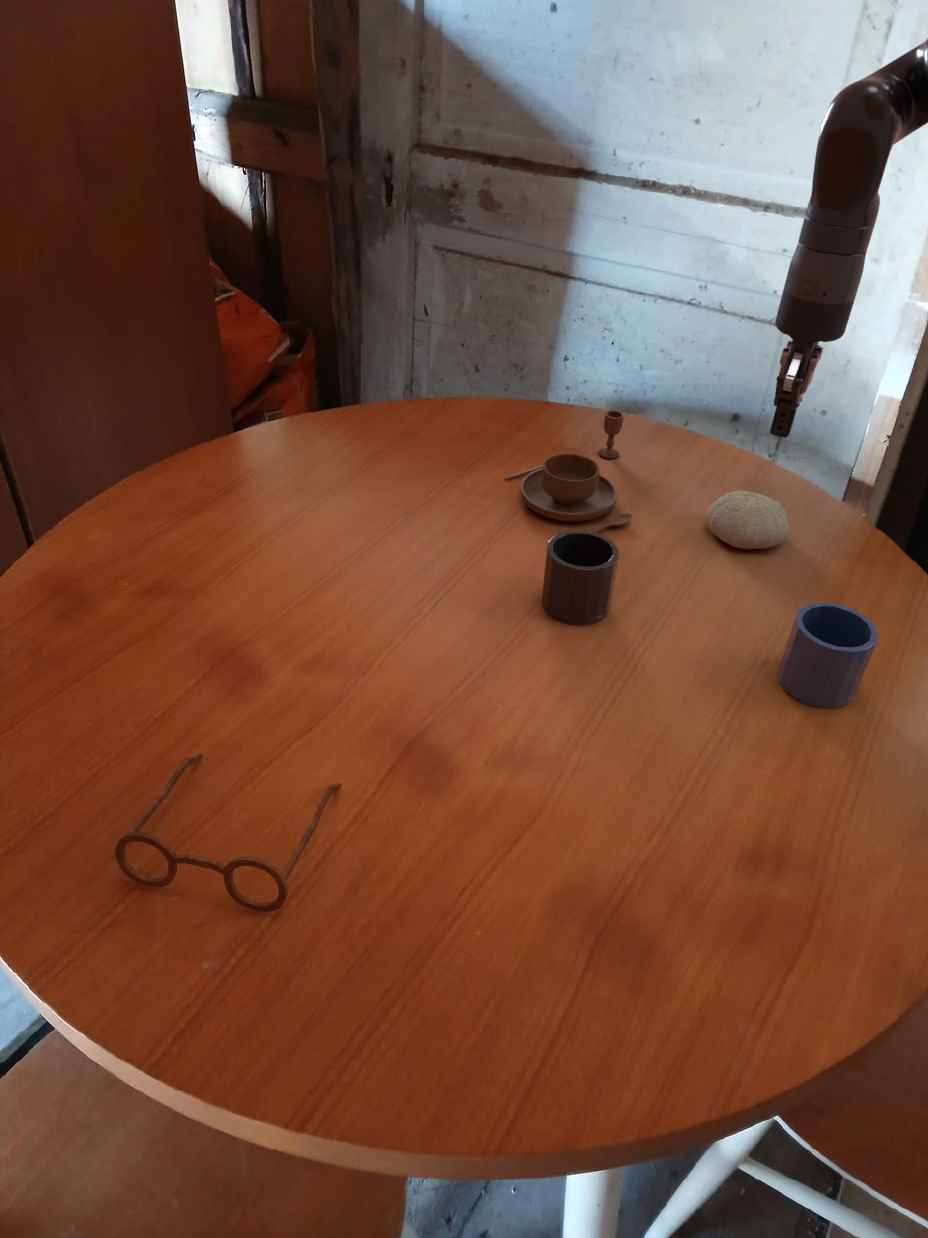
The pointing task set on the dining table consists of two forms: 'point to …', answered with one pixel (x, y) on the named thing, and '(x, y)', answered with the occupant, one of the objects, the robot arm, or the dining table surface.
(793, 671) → the blue cup
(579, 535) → the charcoal cup
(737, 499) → the sea urchin shell
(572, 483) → the place setting
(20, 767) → the dining table surface
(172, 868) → the glasses
